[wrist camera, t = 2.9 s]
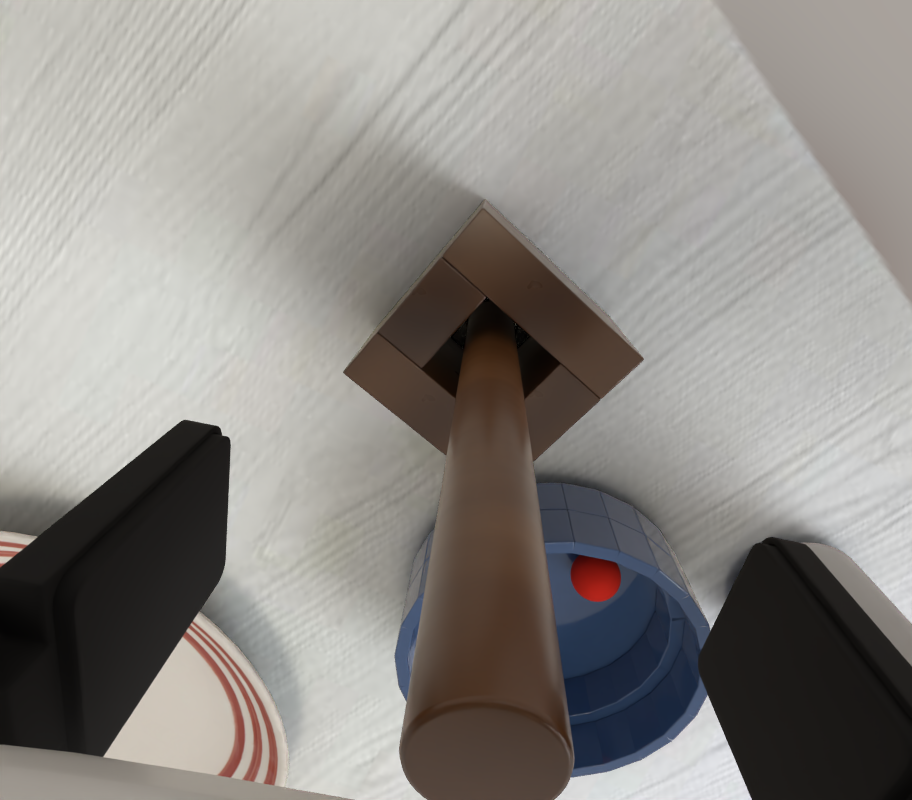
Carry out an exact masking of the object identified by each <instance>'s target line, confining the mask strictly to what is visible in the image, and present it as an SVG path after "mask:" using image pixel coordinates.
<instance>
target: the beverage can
mask: <svg viewBox="0 0 912 800" xmlns="http://www.w3.org/2000/svg"><path fill="white" fill-rule="evenodd" d="M803 544H806V545H807V546H808V547H810V548H811V550H812V551H813V552H814V553H815V554H816V555H817V557H818V558H819V559H820V560H821V561H822V562H823V564H824V565H825V566H826V567H827V568H828V569H829V571H830V572H831V573H832V574H833V575H834V576H835V578H836V579H837V580H838V581H839V582H840V583H841V584H842V586H843V587H844V588H845V589H846V590H847V591H848V593H849V594H850V595H851V596H852V597H853V598H854V600H855V601H856V602H857V603H858V604H859V605H860V607H861V608H862V609H863V610H864V611H865V612H866V614H867V615H868V616H869V617H870V618H871V619H872V621H873V622H874V623H875V624H876V625H877V626H878V628H879V629H880V630H881V631H882V632H883V633H884V635H885V636H886V637H887V638H888V639H889V640H890V641H891V643H892V644H893V645H894V646H895V647H896V648H897V650H898V651H899V652H900V653H901V654H902V655H903V657H904V658H905V659H906V660H907V661H908V662H909V664H910V665H911V666H912V624H911V623H910V622H909V620H908V619H907V618H906V617H905V616H904V615H903V614H902V613H901V612H900V611H899V610H898V608H897V607H896V606H895V605H894V604H893V603H892V602H891V601H890V600H889V599H888V598H887V597H886V595H885V594H884V593H883V592H882V591H881V590H880V589H879V588H878V587H877V586H876V585H875V583H874V582H873V581H872V580H871V579H870V578H869V577H868V576H867V575H866V574H865V573H864V572H863V570H862V569H861V568H860V567H859V566H858V565H857V564H856V563H855V562H854V561H853V560H852V559H851V558H850V557H849V556H848V555H846V554H845V553H843V552H842V551H840V550H838V549H836V548H834V547H831V546H828V545H824V544H819V543H803ZM736 579H737V578H736ZM735 581H736V580H735ZM734 583H735V582H734ZM733 585H734V584H733Z"/></svg>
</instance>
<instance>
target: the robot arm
mask: <svg viewBox="0 0 912 800" xmlns="http://www.w3.org/2000/svg"><path fill="white" fill-rule="evenodd" d="M230 448H231V445H230V439H229V437H227V436H222V433H221V429H220V428H219V427H218V426H214V425H209V424H204V423H199V422H194V421H189V420H183V421H181V422H179V423H178V424H177V425H176V426H175V427H173V428H172V429H171V430H170V431H168V432H167V433H166V434H165V435H163V436H162V437H161V438H160V439H158V440H157V441H156V442H155V443H154V444H152V445H151V446H150V447H149V448H147V449H146V450H145V451H144V452H142V453H141V454H140V455H139V456H137V457H136V458H135V459H134V460H132V461H131V462H130V463H129V464H128V465H126V466H125V467H124V468H123V469H121V470H120V471H119V472H118V473H116V474H115V475H114V476H113V477H111V478H110V479H109V480H108V481H106V482H105V483H104V484H103V485H102V486H100V487H99V488H98V489H97V490H95V491H94V492H93V493H92V494H90V495H89V496H88V497H87V498H85V499H84V500H83V501H82V502H81V503H79V504H78V505H77V506H76V507H74V508H73V509H72V510H71V511H69V512H68V513H67V514H66V515H64V516H63V517H62V518H61V519H59V520H58V521H57V522H56V523H55V524H53V525H52V526H51V527H50V528H48V529H47V530H46V531H45V532H43V533H42V534H41V535H40V536H38V537H37V538H36V539H35V540H33V541H32V542H31V543H30V544H29V545H27V546H26V547H25V548H24V549H22V550H21V551H20V552H19V553H17V554H16V555H15V556H14V557H12V558H11V559H10V560H9V561H8V562H6V563H5V564H4V565H3V566H1V567H0V800H353V799H347V798H341V797H336V796H330V795H325V794H319V793H313V792H308V791H302V790H296V789H291V788H285V787H280V786H274V785H268V784H263V783H257V782H252V781H246V780H240V779H235V778H229V777H223V776H218V775H212V774H206V773H200V772H193V771H187V770H181V769H175V768H168V767H162V766H156V765H149V764H143V763H137V762H131V761H124V760H118V759H112V758H105V757H103V756H104V755H105V754H106V752H107V751H108V749H109V748H110V746H111V745H112V743H113V742H114V740H115V738H116V737H117V735H118V734H119V732H120V731H121V729H122V728H123V726H124V725H125V723H126V722H127V720H128V719H129V717H130V716H131V714H132V713H133V711H134V710H135V708H136V707H137V705H138V704H139V702H140V701H141V699H142V698H143V696H144V694H145V693H146V691H147V690H148V688H149V687H150V685H151V684H152V682H153V681H154V679H155V678H156V676H157V675H158V673H159V672H160V670H161V669H162V667H163V666H164V664H165V663H166V661H167V660H168V658H169V657H170V655H171V653H172V652H173V650H174V649H175V647H176V646H177V644H178V643H179V641H180V640H181V638H182V637H183V635H184V634H185V632H186V631H187V629H188V628H189V626H190V625H191V623H192V622H193V620H194V619H195V617H196V616H197V614H198V613H199V611H200V609H201V608H202V606H203V605H204V603H205V602H206V600H207V599H208V597H209V596H210V594H211V593H212V591H213V590H214V588H215V587H216V585H217V584H218V582H219V580H220V578H221V576H222V573H223V570H224V566H225V560H226V537H227V515H228V492H229V470H230ZM698 670H699V674H700V677H701V680H702V682H703V684H704V687H705V689H706V692H707V694H708V696H709V699H710V701H711V703H712V706H713V708H714V711H715V713H716V715H717V718H718V720H719V722H720V725H721V727H722V729H723V732H724V734H725V737H726V739H727V741H728V744H729V746H730V748H731V751H732V753H733V756H734V758H735V760H736V763H737V765H738V767H739V770H740V772H741V775H742V777H743V779H744V782H745V784H746V786H747V789H748V791H749V794H750V796H751V798H752V800H912V666H911V665H910V664H909V662H908V661H907V660H906V659H905V658H904V657H903V655H902V654H901V653H900V652H899V651H898V650H897V648H896V647H895V646H894V645H893V644H892V643H891V641H890V640H889V639H888V638H887V637H886V636H885V635H884V633H883V632H882V631H881V630H880V629H879V628H878V626H877V625H876V624H875V623H874V622H873V621H872V619H871V618H870V617H869V616H868V615H867V614H866V612H865V611H864V610H863V609H862V608H861V607H860V605H859V604H858V603H857V602H856V601H855V600H854V598H853V597H852V596H851V595H850V594H849V593H848V591H847V590H846V589H845V588H844V587H843V586H842V584H841V583H840V582H839V581H838V580H837V579H836V578H835V576H834V575H833V574H832V573H831V572H830V571H829V569H828V568H827V567H826V566H825V565H824V564H823V562H822V561H821V560H820V559H819V558H818V557H817V555H816V554H815V553H814V552H813V551H812V550H811V548H810V547H808V546H807V545H806V544H803V543H799V542H794V541H789V540H784V539H779V538H774V537H770V538H767V539H765V540H764V541H763V542H762V543H758V544H755V545H754V546H753V547H752V549H751V550H750V552H749V554H748V556H747V558H746V560H745V562H744V565H743V567H742V569H741V571H740V573H739V575H738V577H737V579H736V581H735V583H734V585H733V587H732V589H731V591H730V593H729V595H728V597H727V599H726V601H725V603H724V605H723V607H722V609H721V611H720V613H719V615H718V617H717V619H716V621H715V623H714V625H713V627H712V629H711V631H710V633H709V635H708V637H707V639H706V641H705V643H704V645H703V647H702V649H701V651H700V654H699V658H698Z"/></svg>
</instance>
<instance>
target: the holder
mask: <svg viewBox="0 0 912 800" xmlns="http://www.w3.org/2000/svg"><path fill="white" fill-rule="evenodd" d="M486 296H487V297H488V298H489V299H490V300H491V301H492V302H493V303H494V304H495V305H497V306H498V307H499V308H500V309H501V310H502V311H503V312H504V313H505V314H507V315H508V316H509V317H510V318H511V319H512V320H513V321H514V322H515V323H517V324H518V325H519V326H520V327H521V328H522V329H523V330H524V331H525V332H527V333H528V334H529V335H530V337H529V338H528V339H527V340H526V341H525V342H524V343H523V344H522V345H521V346H520V347H519V348H518V349H517V351H518V358H519V365H520V372H521V380H522V387H523V394H524V401H525V408H526V415H527V422H528V429H529V436H530V443H531V450H532V457H533V461H535V460H536V459H537V458H538V457H539V456H540V455H541V454H542V453H543V452H544V451H545V450H547V449H548V448H549V447H550V446H551V445H552V444H553V443H554V442H555V441H556V440H557V439H559V438H560V437H561V436H562V435H563V434H564V433H565V432H566V431H567V430H568V429H569V428H570V427H572V426H573V425H574V424H575V423H576V422H577V421H578V420H579V419H580V418H581V417H582V416H584V415H585V414H586V413H587V412H588V411H589V410H590V409H591V408H592V407H593V406H594V405H596V404H597V403H598V402H599V401H600V398H601V399H602V398H603V397H604V396H605V395H606V394H607V393H608V392H609V391H611V390H612V389H613V388H614V387H615V386H616V385H617V384H618V383H619V382H620V381H621V380H622V379H624V378H625V377H626V376H627V375H628V374H629V373H630V372H631V371H632V370H633V369H634V368H636V367H637V366H638V365H639V364H640V363H641V362H642V361H643V360H644V359H643V357H642V356H641V355H640V353H639V352H638V351H637V350H636V348H635V347H634V346H633V345H632V344H631V342H630V341H629V340H628V339H627V337H626V336H625V335H624V334H623V333H622V331H621V330H620V329H619V328H618V326H617V325H616V324H615V323H614V321H613V320H612V319H611V318H610V317H609V316H608V315H607V314H606V313H605V312H604V311H603V310H602V309H601V308H600V307H599V306H598V305H597V304H596V303H595V302H594V301H593V300H591V299H590V298H589V297H588V296H587V295H586V294H585V293H584V292H583V291H582V290H581V289H580V288H579V287H578V286H577V285H576V284H575V283H574V282H573V281H571V280H570V279H569V278H568V277H567V276H566V275H565V274H564V273H563V272H562V271H561V270H560V269H559V268H558V267H557V266H556V265H555V264H554V263H552V262H551V261H550V260H549V259H548V258H547V257H546V256H545V255H544V254H543V253H542V252H541V251H540V250H539V249H538V248H537V247H536V246H535V245H533V244H532V243H531V242H530V241H529V240H528V239H527V238H526V237H525V236H524V235H523V234H522V233H521V232H520V231H519V230H518V229H517V228H516V227H515V226H513V225H512V224H511V223H510V222H509V221H508V220H507V219H506V218H505V217H504V216H503V215H502V214H501V213H500V212H499V211H498V210H497V209H496V208H494V207H493V206H492V205H491V204H490V203H489V202H488V201H487V200H484V201H483V202H482V203H481V204H480V206H479V207H478V208H477V209H476V210H475V211H474V213H473V214H472V215H471V216H470V217H469V219H468V220H467V221H466V222H465V223H464V225H463V226H462V227H461V228H460V229H459V230H458V232H457V233H456V234H455V235H454V237H453V238H452V239H451V240H450V241H449V242H448V243H447V245H446V246H445V247H444V248H443V249H442V251H441V252H440V253H439V254H438V255H437V256H436V258H435V259H434V260H433V261H432V262H431V264H430V265H429V266H428V267H427V268H426V269H425V271H424V272H423V273H422V274H421V275H420V277H419V278H418V279H417V280H416V281H415V283H414V284H413V285H412V286H411V287H410V288H409V290H408V291H407V292H406V293H405V294H404V296H403V297H402V298H401V299H400V300H399V301H398V303H397V304H396V305H395V306H394V307H393V309H392V310H391V311H390V312H389V313H388V314H387V316H386V317H385V318H384V319H383V320H382V322H381V323H380V324H379V325H378V326H377V327H376V329H375V330H374V331H373V333H372V334H371V335H370V337H369V338H368V339H367V341H366V342H365V343H364V345H363V346H362V347H361V349H360V350H359V351H358V353H357V354H356V355H355V357H354V358H353V359H352V361H351V362H350V363H349V365H348V366H347V367H346V369H345V370H344V372H343V373H344V374H345V375H346V376H348V377H349V378H350V379H351V380H353V381H354V382H355V383H356V384H358V385H359V386H360V387H361V388H363V389H364V390H365V391H366V392H368V393H369V394H370V395H371V396H373V397H374V398H375V399H376V400H378V401H379V402H380V403H381V404H383V405H384V406H385V407H386V408H388V409H389V410H390V411H391V412H392V413H394V414H395V415H396V416H397V417H399V418H400V419H401V420H402V421H404V422H405V423H406V424H407V425H409V426H410V427H411V428H412V429H414V430H415V431H416V432H417V433H419V434H420V435H421V436H422V437H424V438H425V439H426V440H427V441H429V442H430V443H431V444H432V445H434V446H435V447H436V448H437V449H439V450H440V451H441V452H442V453H444V454H445V455H446V456H447V450H448V444H449V437H450V431H451V425H452V419H453V413H454V407H455V401H456V394H457V388H458V382H459V376H460V370H461V364H462V357H463V351H464V349H463V348H462V347H461V346H459V345H458V344H457V343H456V342H455V341H454V340H453V339H451V338H450V337H451V336H452V335H453V334H454V333H455V332H456V331H457V329H458V328H459V327H460V326H461V325H462V324H463V323H464V322H465V321H466V320H467V318H468V317H469V316H470V315H471V314H472V313H473V312H474V311H475V310H476V309H477V308H478V306H479V305H480V304H481V303H482V302H483V301H484V300H485V299H486Z"/></svg>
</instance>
